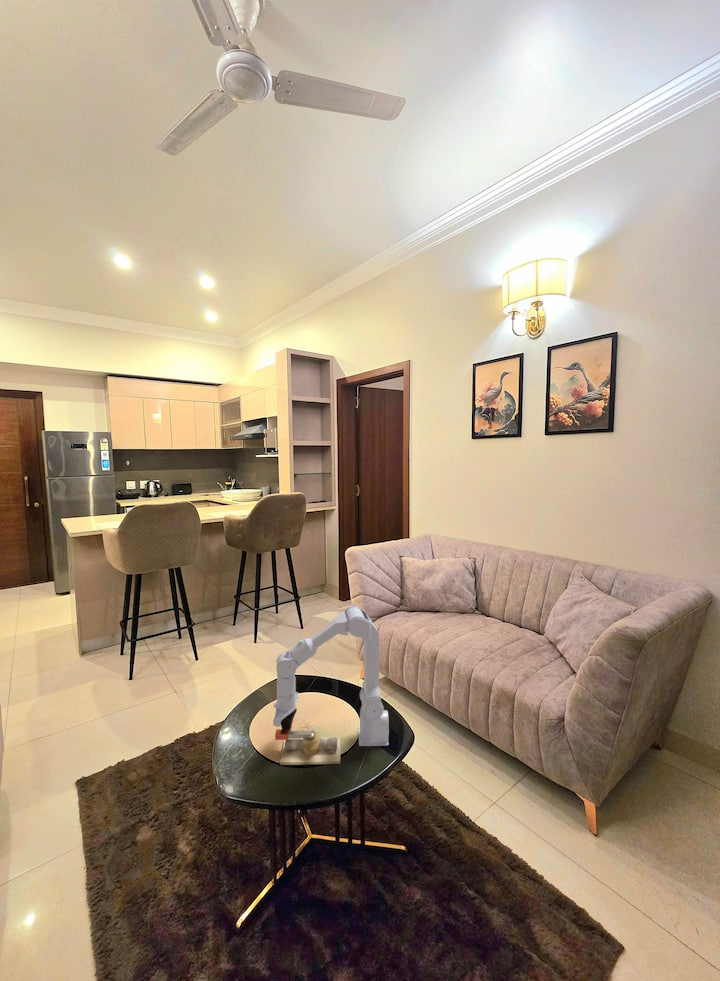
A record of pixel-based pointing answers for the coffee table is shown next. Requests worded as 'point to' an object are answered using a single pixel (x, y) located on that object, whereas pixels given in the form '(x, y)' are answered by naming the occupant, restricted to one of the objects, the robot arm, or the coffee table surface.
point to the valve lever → (293, 734)
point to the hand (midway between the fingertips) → (286, 732)
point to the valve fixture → (310, 751)
